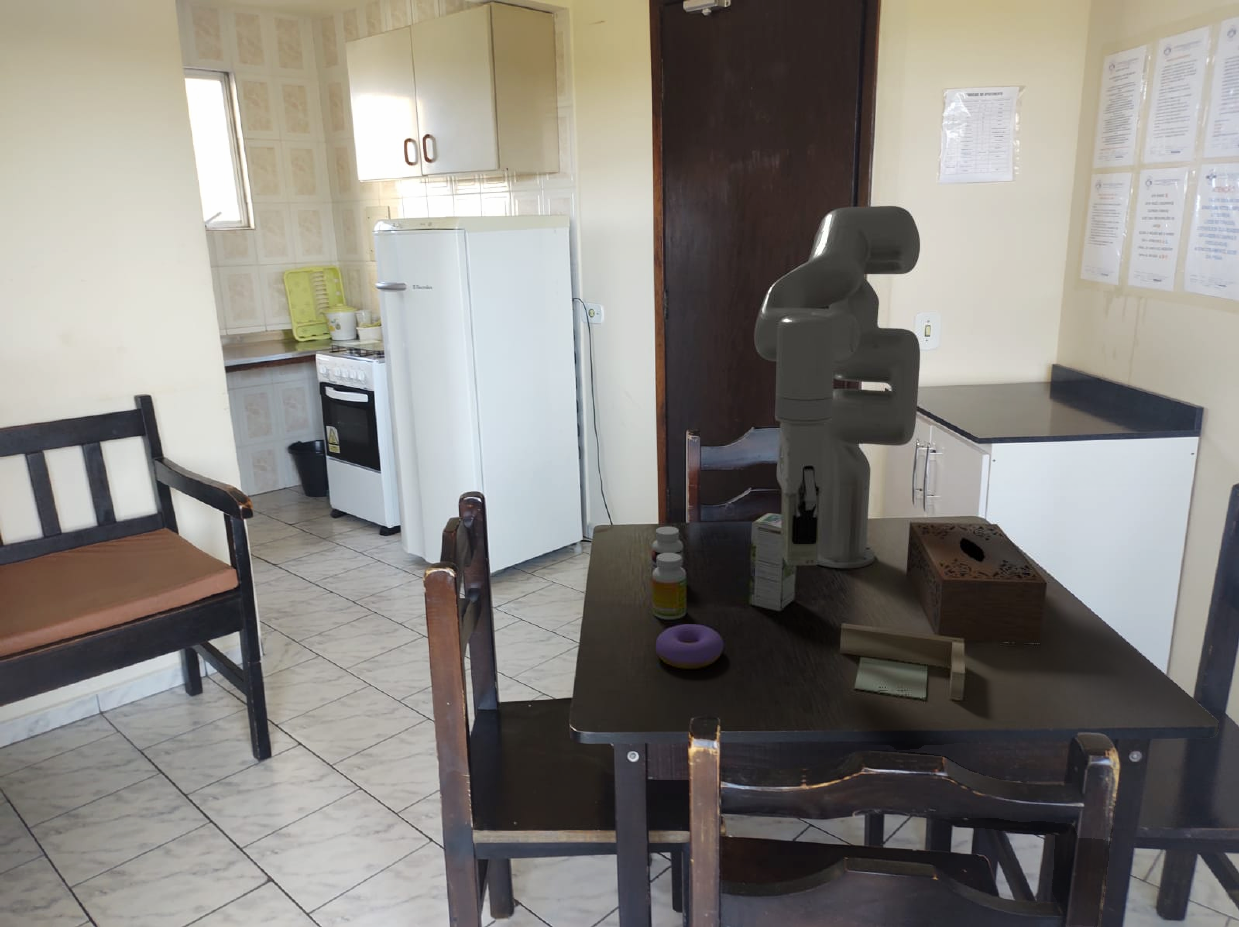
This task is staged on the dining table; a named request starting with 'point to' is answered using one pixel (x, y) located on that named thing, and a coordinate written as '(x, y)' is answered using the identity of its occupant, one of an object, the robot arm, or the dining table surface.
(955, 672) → the corner arena
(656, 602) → the supplement bottle
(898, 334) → the robot arm
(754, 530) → the syrup box
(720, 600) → the dining table surface
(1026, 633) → the tissue box cover
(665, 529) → the pill bottle
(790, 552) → the skincare box
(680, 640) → the donut
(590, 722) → the dining table surface
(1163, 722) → the dining table surface
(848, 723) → the dining table surface
